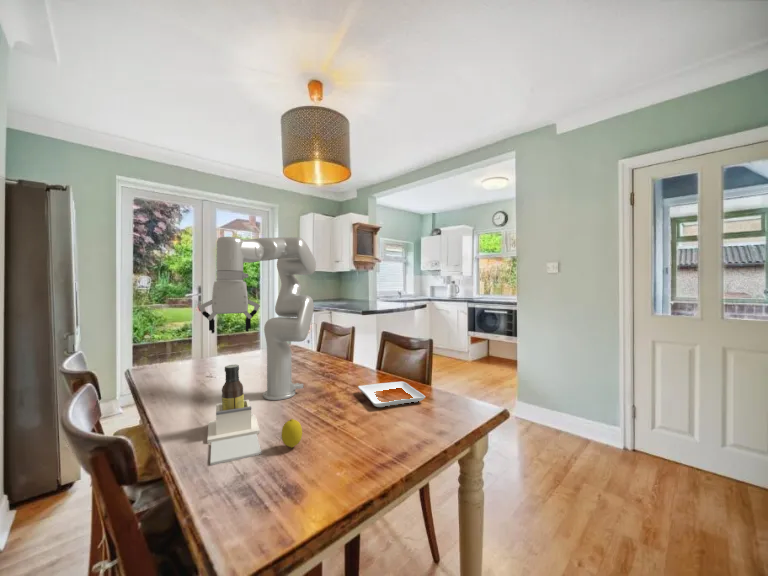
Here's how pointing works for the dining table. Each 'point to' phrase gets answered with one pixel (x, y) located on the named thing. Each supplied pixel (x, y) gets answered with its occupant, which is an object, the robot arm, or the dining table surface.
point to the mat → (234, 449)
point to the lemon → (291, 433)
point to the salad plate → (372, 388)
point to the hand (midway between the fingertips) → (230, 331)
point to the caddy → (232, 423)
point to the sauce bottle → (232, 389)
